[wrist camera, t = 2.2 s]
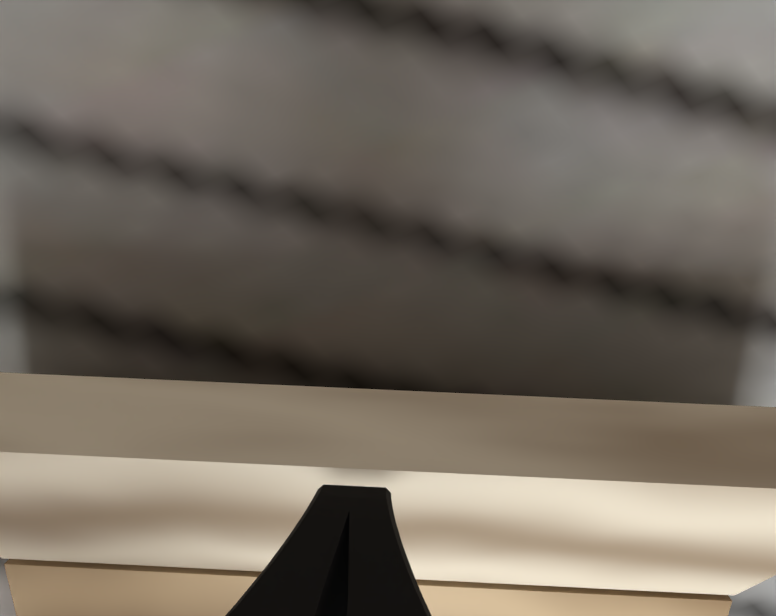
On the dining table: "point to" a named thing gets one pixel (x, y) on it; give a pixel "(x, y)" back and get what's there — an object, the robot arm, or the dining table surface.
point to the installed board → (225, 587)
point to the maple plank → (391, 479)
